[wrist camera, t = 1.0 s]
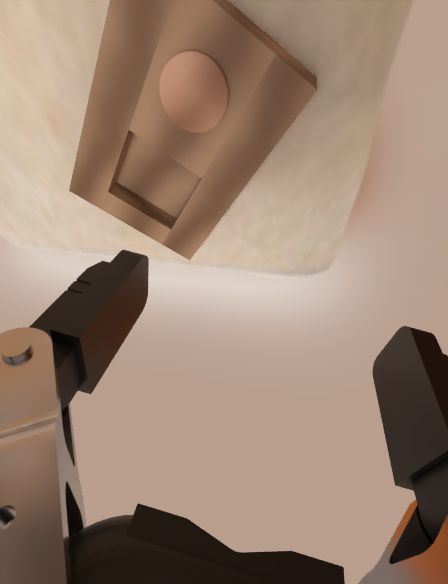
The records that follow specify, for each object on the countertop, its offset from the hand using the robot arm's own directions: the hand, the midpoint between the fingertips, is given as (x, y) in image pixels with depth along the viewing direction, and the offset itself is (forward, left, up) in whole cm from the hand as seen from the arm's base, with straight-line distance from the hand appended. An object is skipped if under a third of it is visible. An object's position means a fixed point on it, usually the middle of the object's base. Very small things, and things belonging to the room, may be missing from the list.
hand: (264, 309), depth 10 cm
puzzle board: (-7, -8, -22) cm, 24 cm away
